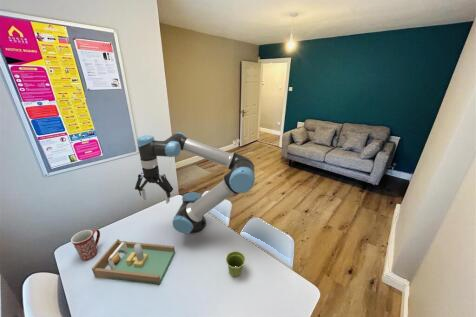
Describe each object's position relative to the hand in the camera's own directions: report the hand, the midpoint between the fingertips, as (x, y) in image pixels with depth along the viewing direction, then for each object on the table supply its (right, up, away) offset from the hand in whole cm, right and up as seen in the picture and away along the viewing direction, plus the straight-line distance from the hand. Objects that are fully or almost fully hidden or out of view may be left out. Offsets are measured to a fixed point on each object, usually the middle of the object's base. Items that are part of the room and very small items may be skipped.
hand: (156, 201), depth 106 cm
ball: (-19, -28, -6) cm, 35 cm away
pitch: (-7, -31, -6) cm, 33 cm away
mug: (-35, -28, 0) cm, 45 cm away
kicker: (-7, -29, -7) cm, 31 cm away
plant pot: (+44, -34, -9) cm, 56 cm away
